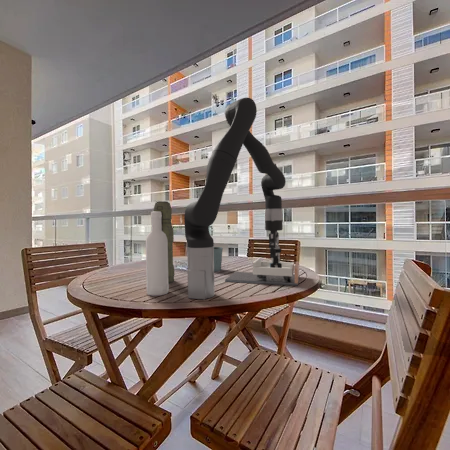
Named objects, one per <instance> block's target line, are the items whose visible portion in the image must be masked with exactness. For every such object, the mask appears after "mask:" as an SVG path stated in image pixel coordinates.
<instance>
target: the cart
mask: <svg viewBox="0 0 450 450" xmlns="http://www.w3.org/2000/svg"><path fill="white" fill-rule="evenodd" d="M271 262H272V261H263V260H262V256H261V257H258V258H256V259H255V260H254V261H253V262H252V272H253V274H254V275H257V277H258V278H259V279H261V278H262V277H263V275H275V276H283V278H284V279H285V280H288V279H289V276H293V274H294V273H295V262H292V261H290V262H289V261H287V262H286V261H280V262H279V263H281V264H282V268H270V263H271Z"/></svg>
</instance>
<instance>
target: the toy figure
mask: <svg viewBox="0 0 450 450" xmlns="http://www.w3.org/2000/svg"><path fill="white" fill-rule="evenodd" d="M268 250H269V251H270V248H268ZM280 253H282V248H280V245H278V246H276V257H275V258H271V257H270V259H271V261H270V262H271V263H270V268H282V264H281V263H279V262H281V257H280V256H281V254H280ZM277 254H278V255H277Z"/></svg>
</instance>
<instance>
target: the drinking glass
mask: <svg viewBox="0 0 450 450" xmlns="http://www.w3.org/2000/svg"><path fill="white" fill-rule="evenodd" d="M223 249H224V248H223V247H220V246H214V273H215V272H221V270H222V262H223Z"/></svg>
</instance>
